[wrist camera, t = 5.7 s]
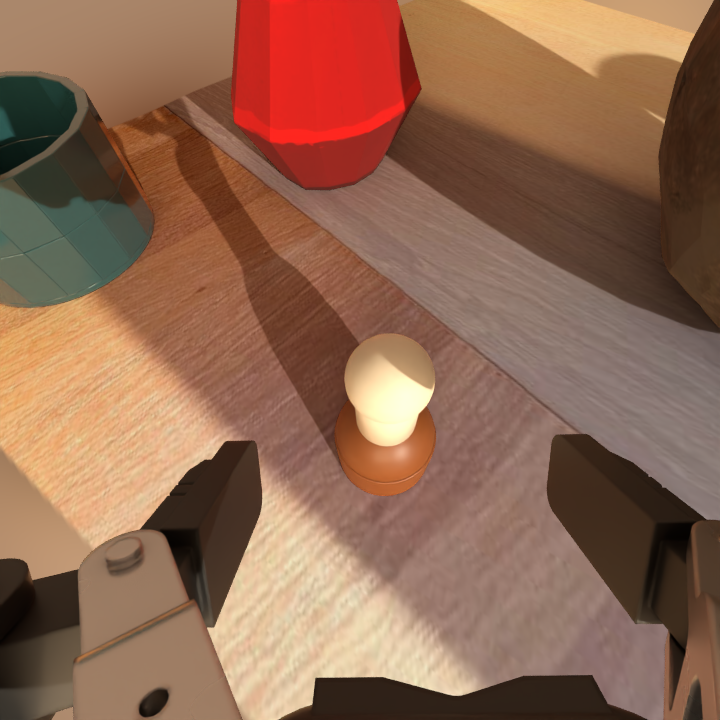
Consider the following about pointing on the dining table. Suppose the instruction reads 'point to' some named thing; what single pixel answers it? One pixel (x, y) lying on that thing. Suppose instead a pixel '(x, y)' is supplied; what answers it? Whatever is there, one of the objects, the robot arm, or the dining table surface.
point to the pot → (694, 170)
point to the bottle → (322, 85)
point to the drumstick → (386, 415)
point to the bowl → (62, 195)
